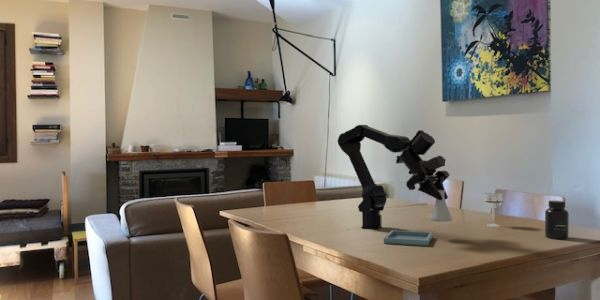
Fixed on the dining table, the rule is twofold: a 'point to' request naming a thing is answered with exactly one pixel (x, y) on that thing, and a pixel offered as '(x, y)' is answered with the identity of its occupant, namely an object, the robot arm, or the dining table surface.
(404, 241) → the tray
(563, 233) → the supplement bottle
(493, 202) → the wineglass
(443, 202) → the flask
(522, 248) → the dining table surface
